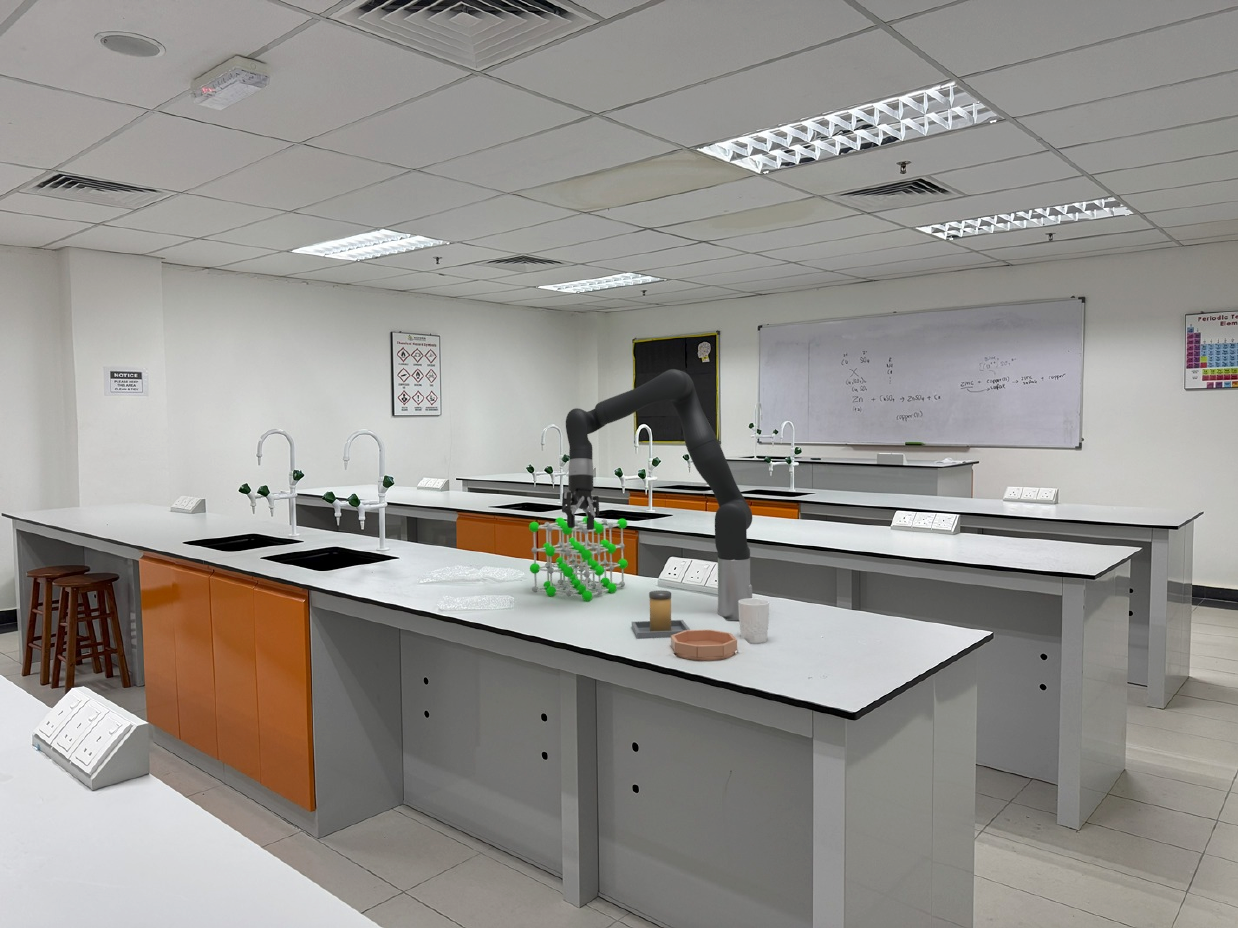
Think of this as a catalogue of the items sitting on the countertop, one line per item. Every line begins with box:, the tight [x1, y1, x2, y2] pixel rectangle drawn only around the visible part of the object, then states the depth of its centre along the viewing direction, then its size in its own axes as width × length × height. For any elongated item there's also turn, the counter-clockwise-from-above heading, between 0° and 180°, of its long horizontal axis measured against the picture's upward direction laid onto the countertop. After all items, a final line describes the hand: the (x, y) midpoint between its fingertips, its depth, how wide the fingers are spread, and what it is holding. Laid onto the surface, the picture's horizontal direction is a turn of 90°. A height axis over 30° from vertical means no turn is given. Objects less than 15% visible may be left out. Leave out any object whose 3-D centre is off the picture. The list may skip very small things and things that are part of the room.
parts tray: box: [631, 619, 691, 640], centre depth 217 cm, size 14×12×2 cm
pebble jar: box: [648, 590, 672, 632], centre depth 216 cm, size 6×6×10 cm
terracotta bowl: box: [670, 629, 738, 662], centre depth 200 cm, size 15×15×4 cm
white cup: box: [738, 597, 770, 644], centre depth 211 cm, size 8×8×10 cm
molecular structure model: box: [528, 516, 629, 602], centre depth 275 cm, size 24×25×24 cm
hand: (580, 528), depth 245 cm, fingers open, 8 cm apart
